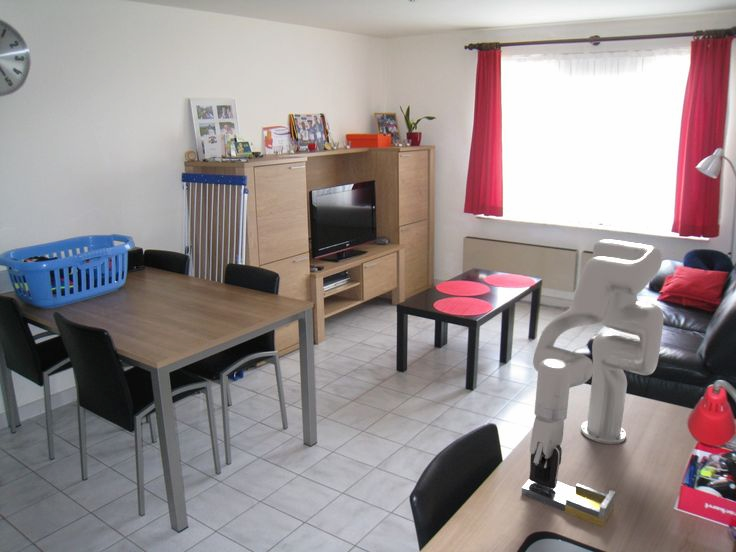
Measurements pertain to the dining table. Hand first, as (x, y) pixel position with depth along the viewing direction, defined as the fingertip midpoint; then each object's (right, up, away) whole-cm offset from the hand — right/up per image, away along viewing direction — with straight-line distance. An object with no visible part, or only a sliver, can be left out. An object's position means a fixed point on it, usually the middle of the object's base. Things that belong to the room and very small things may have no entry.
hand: (544, 474), depth 150 cm
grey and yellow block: (+5, -6, -2) cm, 8 cm away
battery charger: (0, -2, +1) cm, 2 cm away
